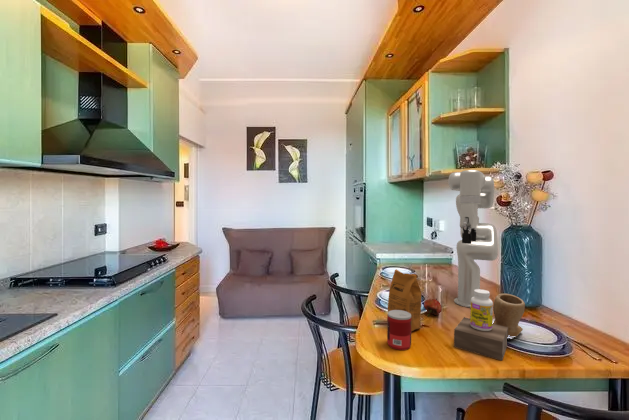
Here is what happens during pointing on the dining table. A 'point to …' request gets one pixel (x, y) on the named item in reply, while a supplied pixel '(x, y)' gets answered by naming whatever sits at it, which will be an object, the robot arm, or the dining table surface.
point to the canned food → (399, 329)
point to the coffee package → (406, 296)
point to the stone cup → (508, 312)
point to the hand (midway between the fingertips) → (469, 242)
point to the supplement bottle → (481, 310)
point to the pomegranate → (433, 306)
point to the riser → (481, 339)
